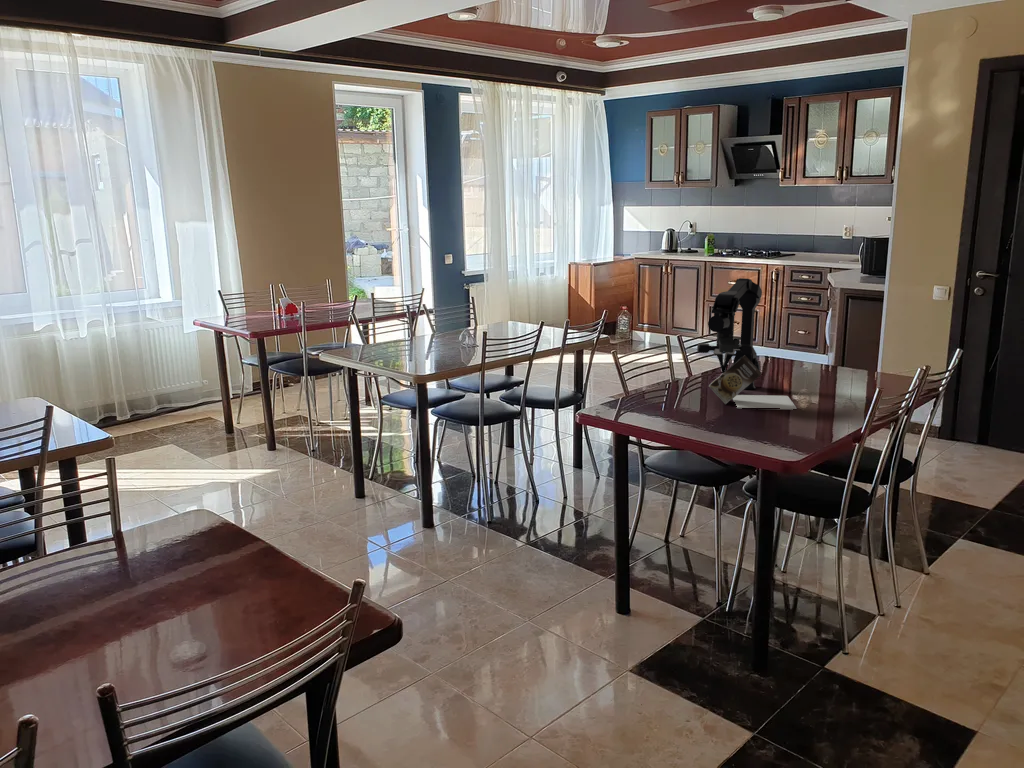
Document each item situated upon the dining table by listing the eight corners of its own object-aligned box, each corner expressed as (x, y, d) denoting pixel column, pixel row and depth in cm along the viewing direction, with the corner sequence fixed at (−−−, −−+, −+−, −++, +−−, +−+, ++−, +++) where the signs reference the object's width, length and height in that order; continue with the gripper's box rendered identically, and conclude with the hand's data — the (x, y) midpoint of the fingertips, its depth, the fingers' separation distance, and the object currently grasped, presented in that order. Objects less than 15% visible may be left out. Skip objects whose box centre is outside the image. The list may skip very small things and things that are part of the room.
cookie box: (707, 386, 284) (742, 356, 277) (711, 382, 289) (744, 353, 283) (725, 405, 282) (760, 376, 276) (728, 401, 288) (762, 372, 281)
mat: (731, 396, 295) (731, 394, 295) (787, 397, 292) (787, 395, 291) (737, 408, 277) (737, 406, 277) (796, 409, 274) (796, 407, 274)
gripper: (700, 331, 275) (698, 375, 278) (755, 332, 272) (753, 377, 275) (698, 327, 285) (696, 370, 288) (751, 328, 282) (748, 371, 285)
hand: (723, 372), depth 284 cm, fingers closed
